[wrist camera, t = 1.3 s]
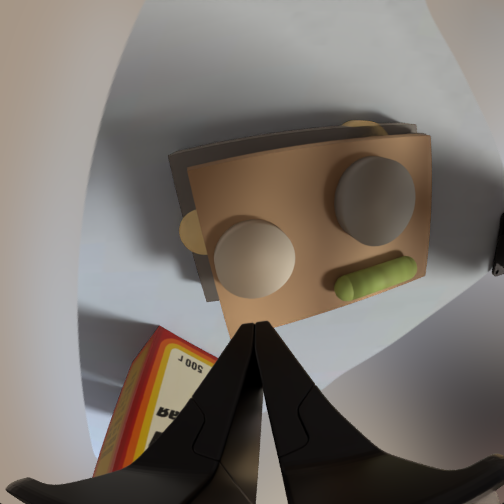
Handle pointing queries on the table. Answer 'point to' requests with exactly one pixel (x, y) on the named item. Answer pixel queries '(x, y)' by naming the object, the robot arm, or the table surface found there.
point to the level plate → (314, 225)
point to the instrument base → (249, 145)
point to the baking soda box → (152, 397)
